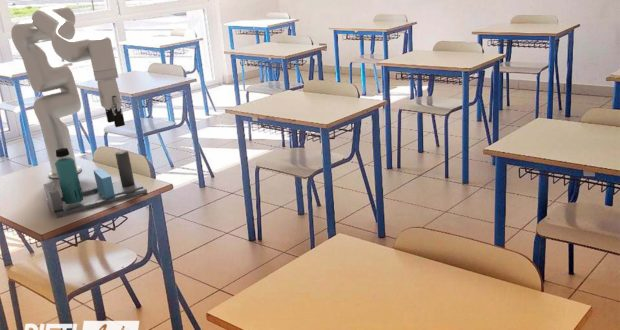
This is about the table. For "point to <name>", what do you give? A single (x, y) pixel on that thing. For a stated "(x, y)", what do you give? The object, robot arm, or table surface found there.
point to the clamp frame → (56, 200)
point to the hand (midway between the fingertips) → (116, 123)
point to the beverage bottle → (68, 177)
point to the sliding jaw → (126, 178)
